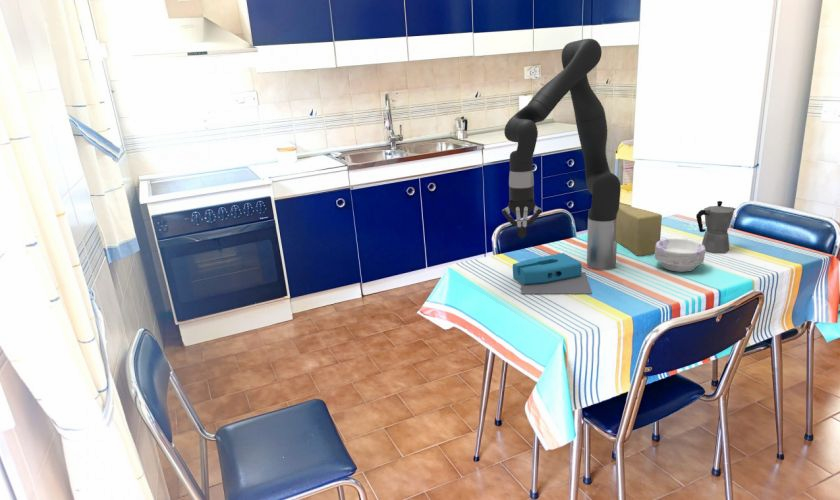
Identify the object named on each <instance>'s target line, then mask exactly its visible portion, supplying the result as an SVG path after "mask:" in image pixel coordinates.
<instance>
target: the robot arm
mask: <svg viewBox="0 0 840 500" xmlns="http://www.w3.org/2000/svg"><path fill="white" fill-rule="evenodd" d="M602 51H603V50H602V46H601V44H600V42H598V41H597V40H596V39H593V38H582V39H580V40H579V39H578V40H575V41H571V42H568V43H566V44H565V45H564V47H563V48H562V52H561V63H562V68H563V69H562V70H561V71H560V72H559V73H558V74H556V76H554V77H553V78H552V79H550V80H549V81H547V82H546V83H545V85H543V86H542V87H541V88H540V89H539V90H538V91H537V92H536V93H535V95H534V96H533V97H532V98H531V99H530V101H529V102H528V103H527V105H525V106H524V107H522V108H520V110H519V111H517V112H516V113H515V114H514V115H512V116H511V117H510V118H509V120H508V121H507V122H506V124H505V127H504V129H503V131H504V132H503V133H504V136H505V139H506V140H508V141H510V142H513V143H517V147H516V150H513V151H511V152H510V154H509V176H508V186H509V187H508V189H509V190H508V193H509V195H508V197H509V200H508V201H509V202H508V203H507V207H505V208H503V209H502V210H501V214H502V215H503V216H504V217H505V219H506V220H507V221H508V222H509V224H511V225H512V226H515V227H516V228H517V236H518V237H519V239H525V237H527V234H528V233H527V230H528V228H527V227H528V226H531V225H533V224H534V222H536V220H537V219H538V218H539V216H540V215H541V214H542V212H543V211H542V207H538V206H537V205H536V202H535V198H534V197H535V193H534V191H535V189H534V187H535V186H534V185H535V181H534V167H533V166H534V160H533V159H534V158H533V157H534V154H535V151H536V150H535V149H536V146H537V141H538V137H539V136H538V134H539V133H538V132H539V131H538V127H537V125H536V124H537V123H541V122H543V121H544V120H546V119H547V118H548V116H549V115H550V114H551V113H552V112H553V110H554V109H555V107H557V106H558V104H559V103H560V101H561V100H562V99H563V98H564V97H565V96H566V95H567V94H568V93H570V99H571V102H572V106H573V112H574V119H575V124H576V130H577V135H578V139H579V143H580V147H581V151H582V156H583V162H584V171H585V172H584V173H585V184H586V189H587V191H588V192H589V193H590V194H591V207H590V208H589V209H588V212H587V215H588V216H587V237H586V238H587V239H586V240H587V242H586V243H587V245H586V246H587V247H586V266H587V267H588V268H589V269H593V270H598V271H604V270H605V271H606V270H611V269H616V268H617V266H616V265H617V248H618V244H617V241H616V218H617V212H618V210H619V203H621V201H620V200H621V188H622V187H621V181H620V179H619V177H618V176H617V175H615V174H614V173H613V172H611V170H610V166H609V163H608V159H607V158H608V157H607V153H606V151H607V141H608V124H607V123H608V122H607V119H606V118H607V117H606V113H605V108H604V105H603V103H601V101H600V99H599V98H598V96H597V95H596V94H595V92H594V91H593V89H592V87H591V85H590V82H589V79H588V78H589V77H588V74H589V73H590V72H591V71H592V70H593V69H595V67H597V65H598V64H599V63H600V61H601V59H602ZM532 212H533V214H532V215H531V216H530V218H529V219H528V217H529V215H530V214H531V213H532ZM511 213H512V214H513V215H514V216H515V217H516V220H515V219H514V217H513V216H512V215H511ZM521 217H522V219H521Z"/></svg>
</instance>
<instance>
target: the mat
mask: <svg viewBox="0 0 840 500" xmlns="http://www.w3.org/2000/svg"><path fill="white" fill-rule="evenodd" d="M520 290H521V291H520V294H521V295H593V291H592V289H591V286H590V283H589V280H588V276H587V273H586V272H583V271H582V274H581V276H578V277H573V278H568V279H562V280H557V281H552V282H547V283H539V284H527V285H523V284H522V283H520Z"/></svg>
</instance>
